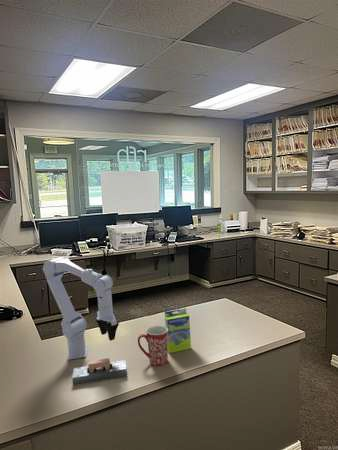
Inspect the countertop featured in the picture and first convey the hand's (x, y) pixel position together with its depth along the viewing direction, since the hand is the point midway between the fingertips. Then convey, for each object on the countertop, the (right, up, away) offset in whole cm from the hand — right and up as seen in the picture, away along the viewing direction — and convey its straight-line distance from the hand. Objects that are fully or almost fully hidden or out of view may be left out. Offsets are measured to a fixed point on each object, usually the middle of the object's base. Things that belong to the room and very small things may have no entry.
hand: (108, 336), depth 138 cm
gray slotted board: (-1, -12, -10) cm, 16 cm away
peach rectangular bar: (-1, -12, -10) cm, 16 cm away
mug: (+20, -10, -2) cm, 22 cm away
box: (+30, -8, +7) cm, 32 cm away
